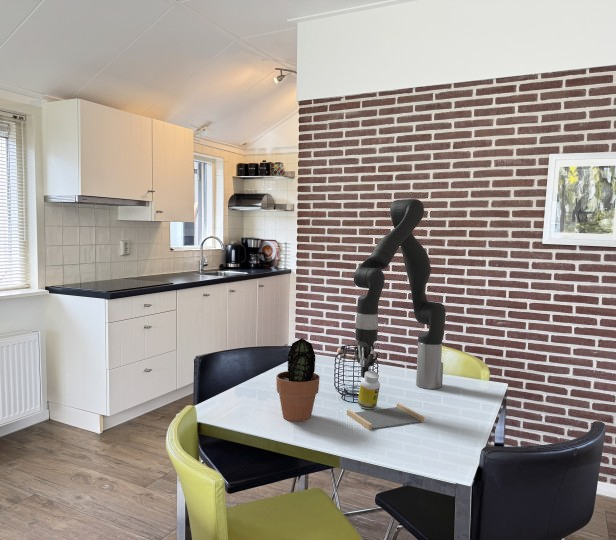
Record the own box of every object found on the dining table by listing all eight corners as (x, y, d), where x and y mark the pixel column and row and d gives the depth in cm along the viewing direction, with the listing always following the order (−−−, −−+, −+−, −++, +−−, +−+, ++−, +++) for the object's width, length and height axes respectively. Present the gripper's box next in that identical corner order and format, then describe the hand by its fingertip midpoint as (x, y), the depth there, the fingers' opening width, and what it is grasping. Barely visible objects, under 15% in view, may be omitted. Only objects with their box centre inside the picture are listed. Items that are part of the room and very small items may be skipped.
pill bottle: (369, 412, 169) (375, 381, 166) (353, 404, 173) (358, 374, 169) (379, 405, 174) (385, 375, 171) (363, 397, 178) (368, 367, 174)
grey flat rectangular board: (398, 407, 174) (399, 403, 174) (424, 421, 161) (424, 416, 161) (346, 414, 166) (346, 409, 165) (369, 429, 153) (369, 424, 153)
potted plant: (266, 415, 163) (268, 337, 162) (300, 406, 172) (302, 333, 170) (293, 428, 153) (295, 345, 151) (327, 418, 161) (329, 340, 160)
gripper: (386, 329, 168) (384, 381, 170) (366, 322, 181) (364, 371, 182) (366, 330, 166) (364, 383, 167) (347, 323, 178) (345, 372, 179)
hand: (364, 376), depth 174 cm, fingers closed
